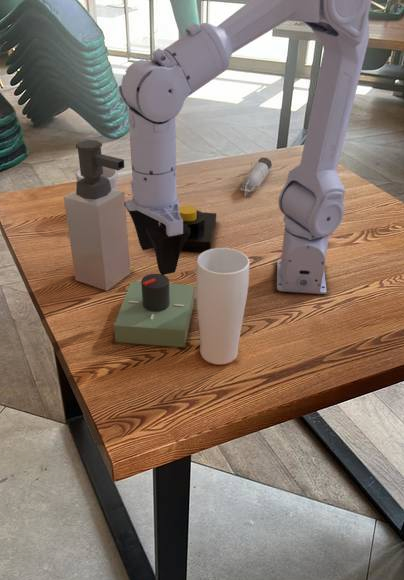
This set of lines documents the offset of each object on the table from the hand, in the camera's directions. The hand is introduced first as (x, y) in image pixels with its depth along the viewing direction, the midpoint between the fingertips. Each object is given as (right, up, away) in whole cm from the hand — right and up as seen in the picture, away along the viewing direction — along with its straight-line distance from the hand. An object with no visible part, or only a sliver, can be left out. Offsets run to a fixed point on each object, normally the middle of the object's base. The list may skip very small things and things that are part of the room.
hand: (157, 260), depth 82 cm
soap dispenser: (-9, -1, +14) cm, 17 cm away
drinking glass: (+9, -14, -2) cm, 16 cm away
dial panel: (0, -8, +4) cm, 10 cm away
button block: (+3, +9, +26) cm, 28 cm away
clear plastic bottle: (+18, +25, +46) cm, 55 cm away
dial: (0, -6, +2) cm, 7 cm away
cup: (-14, +15, +33) cm, 38 cm away
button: (+3, +12, +24) cm, 27 cm away
